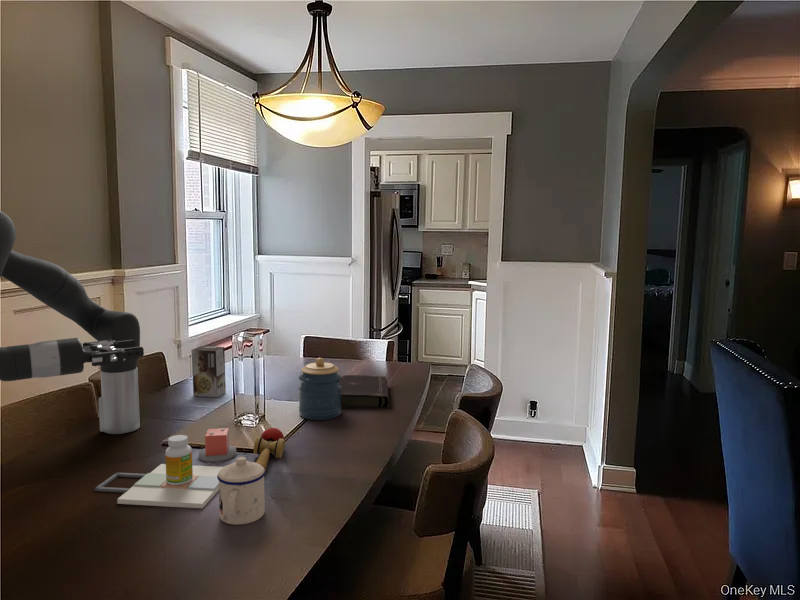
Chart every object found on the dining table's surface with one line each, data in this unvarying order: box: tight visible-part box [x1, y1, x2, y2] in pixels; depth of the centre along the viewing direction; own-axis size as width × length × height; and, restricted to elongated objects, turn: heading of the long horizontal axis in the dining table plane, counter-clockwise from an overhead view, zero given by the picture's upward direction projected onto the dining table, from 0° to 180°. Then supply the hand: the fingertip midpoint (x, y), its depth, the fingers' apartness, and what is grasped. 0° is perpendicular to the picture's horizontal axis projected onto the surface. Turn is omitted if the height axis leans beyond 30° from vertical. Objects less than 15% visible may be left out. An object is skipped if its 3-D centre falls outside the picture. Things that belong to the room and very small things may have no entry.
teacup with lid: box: [217, 456, 266, 526], centre depth 112 cm, size 12×9×12 cm
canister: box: [298, 357, 342, 421], centre depth 176 cm, size 13×13×18 cm
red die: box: [198, 427, 237, 463], centre depth 144 cm, size 9×9×6 cm
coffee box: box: [191, 345, 227, 398], centre depth 196 cm, size 9×6×16 cm
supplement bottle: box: [164, 434, 193, 485], centre depth 125 cm, size 5×5×10 cm
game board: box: [94, 463, 224, 509], centre depth 127 cm, size 26×18×1 cm
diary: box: [340, 374, 390, 409], centre depth 196 cm, size 19×25×5 cm
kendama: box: [253, 427, 286, 471], centre depth 142 cm, size 8×6×18 cm
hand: (139, 347), depth 130 cm, fingers open, 8 cm apart
